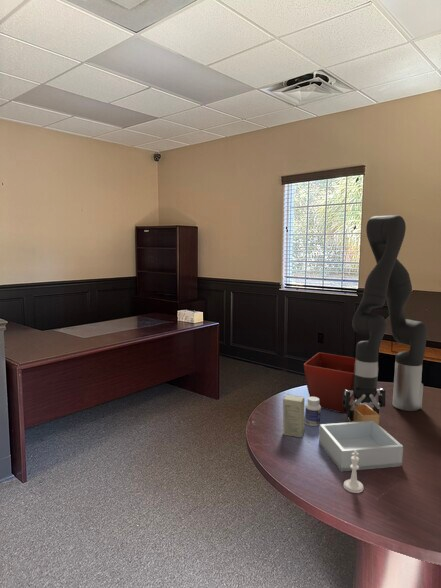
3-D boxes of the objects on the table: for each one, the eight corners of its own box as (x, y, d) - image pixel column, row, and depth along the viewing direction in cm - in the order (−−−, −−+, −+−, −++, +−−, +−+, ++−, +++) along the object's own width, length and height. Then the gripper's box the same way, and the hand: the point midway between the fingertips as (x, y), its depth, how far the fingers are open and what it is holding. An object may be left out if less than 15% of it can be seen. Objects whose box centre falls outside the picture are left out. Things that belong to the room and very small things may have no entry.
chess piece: (340, 481, 108) (342, 446, 107) (358, 481, 109) (360, 445, 107) (347, 493, 104) (349, 456, 102) (366, 492, 104) (368, 455, 103)
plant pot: (365, 400, 161) (367, 359, 158) (353, 419, 145) (355, 373, 142) (317, 391, 171) (318, 351, 168) (301, 407, 154) (302, 364, 152)
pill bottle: (320, 427, 139) (321, 402, 138) (304, 425, 140) (305, 401, 139) (320, 420, 144) (321, 396, 143) (304, 419, 145) (305, 395, 144)
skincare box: (304, 432, 135) (305, 397, 133) (301, 438, 131) (302, 402, 130) (285, 428, 138) (286, 393, 136) (281, 434, 134) (282, 398, 132)
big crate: (372, 438, 131) (373, 420, 131) (401, 466, 116) (403, 446, 115) (318, 442, 129) (319, 424, 128) (341, 471, 113) (342, 451, 112)
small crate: (364, 420, 144) (365, 403, 143) (378, 432, 136) (379, 415, 135) (348, 421, 143) (349, 404, 142) (361, 433, 135) (362, 416, 134)
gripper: (379, 368, 141) (376, 413, 144) (340, 370, 139) (338, 415, 141) (392, 375, 134) (388, 423, 136) (350, 377, 132) (348, 425, 134)
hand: (362, 419), depth 139 cm, fingers open, 8 cm apart
